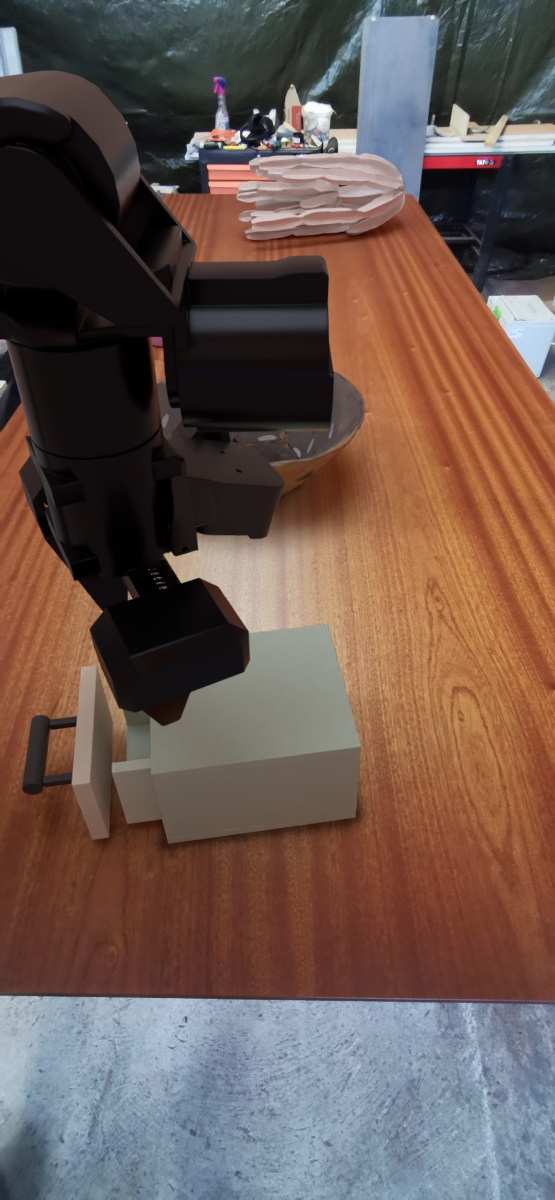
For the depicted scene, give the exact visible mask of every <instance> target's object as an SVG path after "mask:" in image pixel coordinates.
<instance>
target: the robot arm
mask: <svg viewBox="0 0 555 1200" xmlns="http://www.w3.org/2000/svg"><path fill="white" fill-rule="evenodd" d="M137 149H138V148H137V145H136V140H135V139H134V136H133V134H132V132H131V129H130V127H129V126H128V124H127V121H126V120H125V118H124V115H123V114H122V112H120V111H119V109H118V108H117V107H116V106H115V105H114V104H113V103H112V102H111V100H110V99H109V98H108V97H107V96H106V95H105V94H104V93H103V92H102V90H101V89H100V87H99V86H98V85H96V84H94V83H92V82H91V81H89V80H87V79H86V78H84V77H82V76H80V75H77V74H73V73H71V72H70V73H69V72H65V71H63V70H55V69H54V70H38V71H31V72H25V73H18V74H12V75H11V74H9V75H3V76H0V340H1V341H5V345H6V347H7V352H8V355H9V359H10V362H11V367H12V371H13V373H14V378H15V382H16V386H17V390H18V393H19V397H20V401H21V405H22V410H23V413H24V417H25V420H26V424H27V428H28V432H29V435H25V436H24V437H25V441H26V446H27V449H28V452H29V456H28V458H27V459H26V461H25V462H24V463H23V464H22V466H21V468H20V469H19V471H18V474H19V478H20V481H21V485H22V488H23V492H24V496H25V498H26V499H25V500H26V501H27V504H28V506H29V508H30V510H31V513H32V516H33V517H34V519H35V522H36V523H37V526H38V527H39V529H40V532H41V534H42V536H43V538H44V540H45V542H46V543H47V544H48V545H49V547H50V548H51V549H52V550H53V552H54V553H55V554H56V556H57V557H58V558H59V559H60V561H61V562H62V563H63V564H64V565H65V566H66V568H67V569H68V571H69V573H70V575H71V577H72V579H73V581H74V582H78V583H79V585H80V586H81V587H82V588H83V589H84V590H85V591H86V593H87V594H88V595H89V596H90V598H91V599H92V600H93V602H94V603H95V604H96V605H97V607H98V608H99V609H100V610H101V611H102V612H101V613H100V614H99V616H98V617H97V618H96V620H95V621H94V622H93V624H91V626H90V627H89V633H90V638H91V642H92V645H93V649H94V650H95V654H96V657H97V660H98V663H99V666H100V669H101V672H102V674H103V675H104V678H105V680H106V682H107V685H108V688H109V689H110V692H111V694H112V696H113V698H114V700H115V703H116V705H117V707H118V709H119V710H122V711H123V710H127V711H130V712H134V713H137V712H139V711H143V712H145V713H146V714H147V715H148V716H150V717H151V718H152V719H153V720H155V721H156V722H157V723H158V724H160V725H161V726H166V725H169V724H171V723H174V722H177V721H179V720H180V719H181V717H182V714H183V712H184V709H185V706H186V704H187V701H188V698H189V696H190V693H191V692H193V691H196V690H198V689H201V688H204V687H206V686H209V685H212V684H214V683H217V682H220V681H222V680H225V679H228V678H230V677H233V676H236V675H238V674H241V673H244V672H245V670H246V668H247V665H248V663H249V661H250V645H249V633H250V631H249V629H248V628H247V626H246V625H245V624H244V622H243V620H242V619H241V617H240V616H239V614H238V613H237V612H236V610H235V609H234V607H233V606H232V604H231V603H230V601H229V600H228V598H227V597H226V595H225V593H224V592H223V591H222V590H221V588H220V586H218V585H216V584H214V583H212V582H210V581H207V580H206V579H203V578H201V577H197V578H193V579H189V580H187V581H183V582H181V580H180V578H179V576H178V575H177V574H176V572H175V570H174V569H173V567H172V565H171V564H170V562H169V561H168V560H167V558H166V556H165V554H169V553H171V554H172V555H173V557H179V556H183V555H187V554H189V553H193V552H196V551H199V541H198V534H200V535H202V536H203V535H204V536H228V537H229V536H232V537H234V536H235V537H238V536H239V537H242V536H243V537H247V538H249V539H250V540H262V539H264V538H267V536H268V535H269V532H270V529H271V526H272V523H273V520H274V517H275V514H276V512H277V508H278V506H279V503H280V500H281V497H282V495H281V494H282V491H283V488H284V486H285V481H284V479H283V478H282V477H281V475H280V474H279V473H278V472H277V471H276V470H275V469H274V468H273V467H272V466H271V465H270V464H269V463H268V462H267V460H266V459H265V458H264V457H263V456H262V455H261V454H260V453H259V452H258V451H257V450H256V449H254V448H252V447H250V446H248V445H246V444H245V443H244V442H243V441H242V440H241V439H240V438H238V437H234V438H233V441H232V442H231V439H230V433H229V432H285V431H329V429H330V425H331V418H332V407H333V390H334V372H335V371H334V364H333V359H332V352H331V344H330V318H329V317H330V314H329V289H330V288H329V287H330V276H329V269H328V264H327V260H326V259H325V257H324V256H323V255H319V254H318V255H317V254H314V255H313V254H312V255H311V254H310V255H291V256H286V257H283V258H278V259H276V260H261V261H260V260H257V261H256V260H255V261H254V260H253V261H252V260H251V261H245V260H244V261H195V257H196V253H197V248H198V247H197V243H196V242H195V240H194V238H193V237H192V236H191V235H190V233H189V232H188V231H187V229H186V228H185V227H184V226H183V225H182V223H181V222H180V220H178V218H177V217H176V216H175V215H174V213H173V212H172V210H170V208H169V207H168V206H167V204H166V203H165V202H164V201H163V199H162V198H161V197H160V195H158V193H157V192H156V190H155V189H154V188H153V186H152V185H151V184H150V183H149V181H148V180H147V179H146V177H145V176H144V175H143V173H141V164H140V160H139V154H138V150H137ZM151 337H162V344H163V346H162V354H163V355H162V356H163V369H164V379H165V381H166V389H167V395H168V400H169V404H170V407H171V408H180V411H181V416H182V421H181V422H180V423H179V424H178V426H177V427H176V428H175V429H174V431H173V432H172V436H171V439H166V438H165V437H164V435H163V428H162V421H161V412H160V404H159V396H158V388H157V383H158V381H157V373H156V365H155V357H154V349H153V348H154V347H153V345H152V340H151ZM129 595H130V597H131V599H129Z"/></svg>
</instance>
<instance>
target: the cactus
mask: <svg viewBox="0 0 555 1200" xmlns="http://www.w3.org/2000/svg"><path fill="white" fill-rule="evenodd" d="M248 165H249V170H250V171H251V172H252V173H253V174H256V176H257V177H259V178H266V179H268V180H269V181H263V180H249V181H245V182H243V181H242V182H240V183H238V184H237V189H236V190H238V191H237V194H236V196H235V197H236V200H237V201H240V202H244V203H254V202H255V203H254V205H255V208H256V210H255V209H253V210H252V209H251V210H246V211H242V212H241V213H239V214H238V216H237V218H238V220H239V221H241V222H243V223H249V222H250V223H251V224H252V226H251V228H248V229H246V230H244V236H243V237H245V238H246V239H248V240H254V241H268V240H272V239H279V238H285V237H289V236H291V235H293V236H296V237H299V236H300V237H301V236H315V235H320V234H335V233H337V234H338V233H341V232H345V233H346V234H347V235H350V236H357V235H360V234H363V233H365V232H366V233H367V231H370V230H373V229H376V228H378V227H380V226H382V225H383V224H384V223H386V222H387V221H389V220H390V219H392V218H393V217H395V216H396V215H397V214H398V213H399V212H400V211H402V209H403V207H404V204H405V202H406V194H405V183H404V182H403V175H402V173H401V172H400V171H399V170H398V168H397V167H396V165H394V164H393V163H392V162H391V161H389V160H387V159H386V158H384V157H382V156H380V155H377V154H373V153H367V152H364V153H361V154H356V153H352V152H345V151H341V152H333V153H325V152H324V153H310V154H304V155H303V156H300V155H290V154H289V155H272V156H263V157H255V158H253V159H250V160H249V162H248ZM274 181H275V182H274ZM348 202H349V203H348Z"/></svg>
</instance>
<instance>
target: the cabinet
mask: <svg viewBox="0 0 555 1200" xmlns="http://www.w3.org/2000/svg"><path fill="white" fill-rule="evenodd" d="M249 645H250V661H249V663H248V665H247V668H246V670H245V672H244V673H241V674H238V675H236V676H233V677H230V678H228V679H225V680H222V681H220V682H217V683H214V684H212V685H209V686H206V687H204V688H201V689H198V690H196V691H193V692H191V693H190V696H189V698H188V701H187V704H186V706H185V709H184V712H183V714H182V717H181V719H180V720H179V721H177V722H174V723H171V724H169V725H166V726H161V725H160V724H158V723H157V722H156V721H155V720H153V719H152V718H151V717H150V740H151V776H152V780H153V784H154V788H155V793H156V797H157V801H158V805H159V809H160V813H161V817H162V819H161V821H162V824H163V828H164V832H165V836H166V840H167V843H168V845H171V844H177V843H184V842H191V841H199V840H206V839H213V838H219V837H227V836H232V835H233V836H234V835H241V834H242V835H243V834H249V833H255V832H256V833H257V832H262V831H270V830H271V831H272V830H276V829H284V828H291V827H298V826H305V825H313V824H314V825H315V824H321V823H326V822H335V821H341V820H342V821H343V820H348V819H355V818H356V816H357V806H358V793H359V783H360V781H359V779H360V769H361V768H360V767H361V757H362V756H361V755H362V754H361V753H362V744H361V739H360V737H359V732H358V729H357V725H356V721H355V717H354V714H353V710H352V707H351V703H350V699H349V696H348V692H347V689H346V686H345V685H346V684H345V681H344V678H343V673H342V670H341V667H340V662H339V659H338V655H337V651H336V648H335V644H334V641H333V637H332V634H331V630H330V626H329V624H328V623H324V624H323V623H322V624H315V625H305V626H297V627H296V626H295V627H288V628H280V629H272V630H264V631H256V632H255V631H254V632H249Z"/></svg>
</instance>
